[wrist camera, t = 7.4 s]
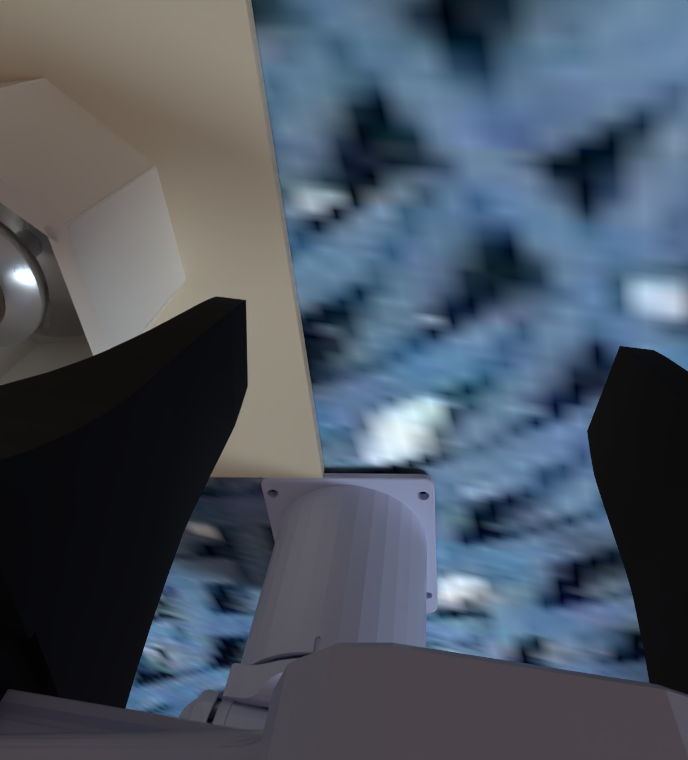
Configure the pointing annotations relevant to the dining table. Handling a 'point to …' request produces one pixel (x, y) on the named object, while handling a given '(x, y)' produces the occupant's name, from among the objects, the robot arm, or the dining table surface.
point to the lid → (31, 285)
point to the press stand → (157, 194)
